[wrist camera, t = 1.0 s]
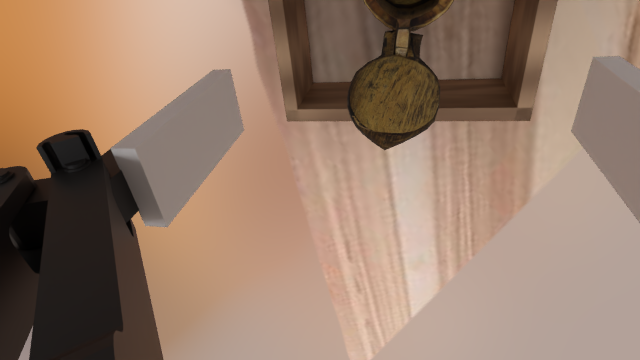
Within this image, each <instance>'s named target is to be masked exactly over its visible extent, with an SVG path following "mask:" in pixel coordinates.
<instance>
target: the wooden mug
mask: <svg viewBox="0 0 640 360" xmlns="http://www.w3.org/2000/svg"><path fill="white" fill-rule="evenodd" d="M453 1H454V0H364V3H365V4H366V6H367V7H368V8H369V10H370V11H371V12H372V14H373V15H374V16H375V17H376V18H377V19H378V20H379V21H381V22H382V23H383V24H384V25H386V26H387V27H389V28H391V29H393V30H392V31H386V32H385V35H384V41H383V48H382V55H381V56H379V57H378V58H376V59H374V60H372V61H370V62H368V63H367V64H365V65H364V66H363V67H362V68H361V69H359V70H358V71H357V72H356V73H355V75H354V77H353V79H352V81H351V84H350V87H349V90H348V96H347V108H348V111H349V115H350V118H351V119H352V121H353V123H354V124H355V126H356V127H357V128H358V129H359V131H360V132H361V133H362V134H363V135H365V136H366V137H367V138H368V139H370V140H371V141H372V142H373V143H375V144H376V145H378V146H379V147H381V148H382V149H384V150H386V149H389V148H391V147H394V146H396V145H398V144H401V143H403V142H405V141H407V140H409V139H411V138H413V137H415V136H417V135H418V134H420V133H422V132H423V131H425V130H426V129H428V127H429V126H430V125H431V124H432V123H433V122H434V121H435V118H436V115H437V112H438V109H439V101H440V85H439V82H438V79H437V76H436V75H435V74H434V73H433V71H432V70H431V69H430V68H429V67H428V66H427V65H426V64H425V63H424V62H423V61H422V60H421V59H420V58H419V55H420V45H421V41H422V37H423V35H420V34H414V33H410V31H415V30H418V29H420V28H422V27H424V26H427V25H428V24H430V23H431V22H433V21H435V20H436V19H438V18H439V17H440V16H441V15H442V14H443V13H445V12H446V11H447V10H448V9H449V7H450V6H451V4H452V3H453Z"/></svg>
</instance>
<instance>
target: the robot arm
mask: <svg viewBox="0 0 640 360" xmlns="http://www.w3.org/2000/svg"><path fill="white" fill-rule="evenodd" d="M243 131H244V128H243V123H242V119H241V114H240V110H239V106H238V101H237V97H236V92H235V88H234V83H233V79H232V74H231V70H230V69H226V70H213V71H211V72H210V73H209V74H207V75H206V76H205V77H203V78H202V79H201V80H199V81H198V82H197V83H195V84H194V85H193V86H191V87H190V88H189V89H188V90H186V91H185V92H184V93H182V94H181V95H180V96H178V97H177V98H176V99H175V100H173V101H172V102H171V103H169V104H168V105H167V106H165V107H164V108H163V109H161V110H160V111H159V112H157V113H156V114H155V115H154V116H152V117H151V118H150V119H148V120H147V121H146V122H144V123H143V124H142V125H141V126H139V127H138V128H137V129H135V130H134V131H132V132H131V133H130V134H129V135H127V136H126V137H125V138H123V139H122V140H121V141H119V142H118V143H117V144H115V145H114V146H113V147H111V149H110V150H109V151H107V152H106V153H104V154H103V155H102V156H101V155H100V153H99V150H98V148H97V146H96V144H95V142H94V140H93V138H92V136H91V133H90V132H89V131H88V130H83V129H82V130H71V131H66V132H63V133H59V134H56V135H54V136H51V137H49V138H47V139H45V140H44V141H42V142H41V143H39V145H38V146H37V150H38V151H39V153H40V155H41V157H42V159H43V160H44V161H45V164H46V165H47V167H48V169H49V171H50V172H51V178H46V179H39V180H34V179H33V178H32V176H31V174H30V173H29V171H28V170H27V168H25V167H22V166H15V167H8V168H0V360H18V359H19V356H20V354H21V351H22V349H23V347H24V345H25V342H26V340H27V338H28V336H29V333H30V331H31V328H32V326H33V332H32V340H31V349H30V357H29V360H163V355H162V351H161V346H160V341H159V337H158V332H157V327H156V323H155V318H154V314H153V309H152V304H151V299H150V295H149V290H148V285H147V281H146V276H145V271H144V267H143V262H142V258H141V253H140V248H139V243H138V238H137V234H136V229H135V227H134V224H133V222H132V220H131V218H132V217H133V216H134V215H135V214H136V213H137V212H138V211H139V213H140V215H141V217H142V220H143V221H144V224H145V226H157V227H168V226H169V224H170V223H171V222H172V221H173V219H174V218H175V217H176V215H177V214H178V213H179V212H180V210H181V209H182V208H183V207H184V205H185V204H186V203H187V202H188V200H189V199H190V198H191V197H192V195H193V194H194V192H195V191H196V190H197V189H198V188H199V186H200V185H201V184H202V183H203V181H204V180H205V179H206V177H207V176H208V175H209V174H210V173H211V171H212V170H213V169H214V168H215V166H216V165H217V164H218V162H219V161H220V160H221V159H222V157H223V156H224V155H225V154H226V152H227V151H228V150H229V148H230V147H231V146H232V145H233V144H234V142H235V141H236V140H237V139H238V137H239V136H240V135H241V133H242V132H243ZM571 132H572V133H573V134H574V136H575V137H576V138H577V140H578V141H579V142H580V144H581V145H582V146H583V148H584V149H585V150H586V152H587V153H588V154H589V156H590V157H591V158H592V160H593V161H594V162H595V164H596V165H597V166H598V168H599V169H600V170H601V172H602V173H603V174H604V176H605V177H606V178H607V180H608V181H609V182H610V184H611V185H612V186H613V188H614V189H615V190H616V192H617V193H618V194H619V196H620V197H621V198H622V200H623V201H624V202H625V204H626V205H627V207H628V208H629V209H630V210H631V212H632V213H633V214H634V216H635V217H636V219H637V220H638V221H639V223H640V69H638V68H637V67H635V66H634V65H632V64H631V63H629V62H628V61H626V60H624V59H623V58H621V57H620V56H608V57H593V59H592V63H591V66H590V69H589V73H588V76H587V80H586V83H585V86H584V90H583V93H582V96H581V100H580V103H579V107H578V110H577V113H576V117H575V120H574V123H573V127H572V130H571Z"/></svg>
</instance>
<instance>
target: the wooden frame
mask: <svg viewBox="0 0 640 360" xmlns="http://www.w3.org/2000/svg"><path fill="white" fill-rule="evenodd" d="M557 1H558V0H515V3H514V9H513V15H512V21H511V27H510V32H509V38H508V44H507V50H506V56H505V61H504V67H503V73H502V79H464V80H438V82H439V85H440V101H439V109H438V112H437V115H436V118H435V121H530V119H531V115H532V110H533V106H534V101H535V97H536V93H537V88H538V84H539V80H540V75H541V71H542V67H543V62H544V58H545V54H546V49H547V45H548V40H549V36H550V32H551V27H552V23H553V19H554V14H555V10H556V6H557ZM268 2H269V9H270V15H271V22H272V28H273V34H274V41H275V47H276V54H277V60H278V66H279V73H280V79H281V85H282V92H283V98H284V105H285V111H286V117H287V121H352V119H351V118H350V115H349V111H348V108H347V96H348V90H349V87H350V84H351V82H339V83H313V77H312V68H311V59H310V49H309V40H308V31H307V22H306V13H305V3H304V0H268Z"/></svg>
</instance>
